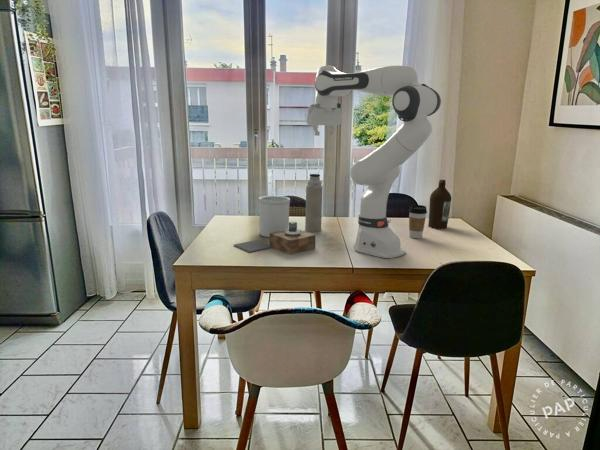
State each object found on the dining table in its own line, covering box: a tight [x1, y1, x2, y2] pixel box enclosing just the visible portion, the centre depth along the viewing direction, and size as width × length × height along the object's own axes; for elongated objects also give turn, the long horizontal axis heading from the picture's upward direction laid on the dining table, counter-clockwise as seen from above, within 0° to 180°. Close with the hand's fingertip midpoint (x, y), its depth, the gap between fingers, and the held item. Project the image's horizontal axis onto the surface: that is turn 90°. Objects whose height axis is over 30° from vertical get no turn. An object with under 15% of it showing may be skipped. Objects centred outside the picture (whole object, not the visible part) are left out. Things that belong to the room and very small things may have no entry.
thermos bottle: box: [304, 173, 324, 233], centre depth 212 cm, size 8×8×28 cm
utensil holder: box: [258, 195, 291, 238], centre depth 204 cm, size 15×15×18 cm
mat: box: [233, 239, 274, 254], centre depth 186 cm, size 12×12×1 cm
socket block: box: [269, 228, 317, 255], centre depth 185 cm, size 14×14×6 cm
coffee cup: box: [408, 204, 428, 239], centre depth 205 cm, size 8×8×15 cm
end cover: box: [285, 221, 301, 236], centre depth 185 cm, size 6×6×9 cm
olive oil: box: [427, 179, 452, 230], centre depth 223 cm, size 11×11×25 cm
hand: (324, 135), depth 198 cm, fingers open, 8 cm apart
